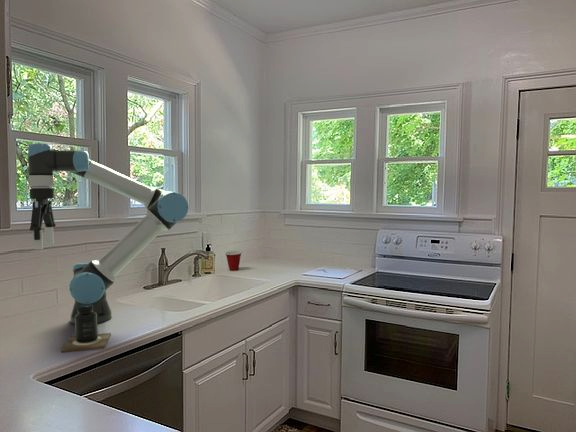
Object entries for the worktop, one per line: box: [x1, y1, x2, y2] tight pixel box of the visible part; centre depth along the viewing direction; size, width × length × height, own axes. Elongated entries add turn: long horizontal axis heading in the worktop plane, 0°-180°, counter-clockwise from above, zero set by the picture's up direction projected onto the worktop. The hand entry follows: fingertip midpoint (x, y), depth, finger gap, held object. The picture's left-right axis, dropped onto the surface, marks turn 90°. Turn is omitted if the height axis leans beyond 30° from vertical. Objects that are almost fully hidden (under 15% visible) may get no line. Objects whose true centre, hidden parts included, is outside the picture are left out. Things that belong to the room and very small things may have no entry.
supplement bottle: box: [74, 304, 99, 343], centre depth 148 cm, size 7×7×12 cm
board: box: [60, 332, 112, 353], centre depth 148 cm, size 14×13×1 cm
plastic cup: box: [224, 250, 242, 272], centre depth 283 cm, size 11×11×12 cm
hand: (44, 247), depth 157 cm, fingers open, 13 cm apart
